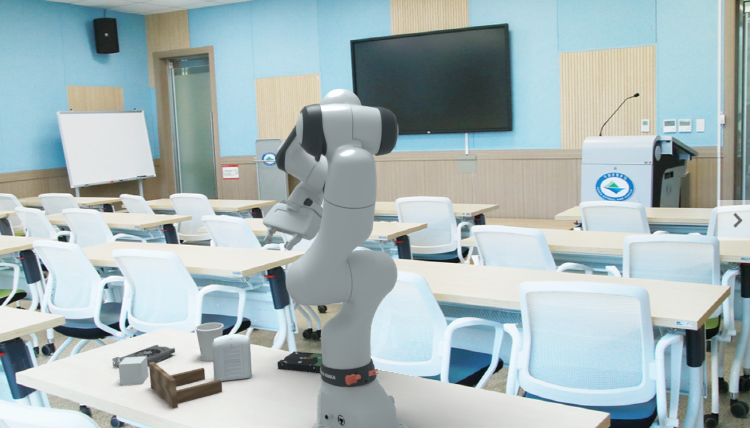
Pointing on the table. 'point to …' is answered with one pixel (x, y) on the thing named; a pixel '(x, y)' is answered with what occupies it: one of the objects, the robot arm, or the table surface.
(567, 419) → the table surface
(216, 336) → the dixie cup
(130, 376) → the grey cube
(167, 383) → the dock
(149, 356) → the graphics card
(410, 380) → the table surface
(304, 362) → the disk drive
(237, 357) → the photo printer
